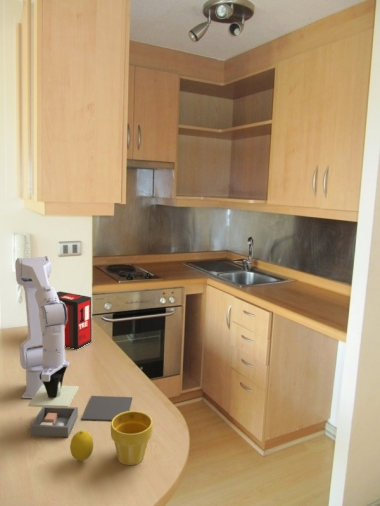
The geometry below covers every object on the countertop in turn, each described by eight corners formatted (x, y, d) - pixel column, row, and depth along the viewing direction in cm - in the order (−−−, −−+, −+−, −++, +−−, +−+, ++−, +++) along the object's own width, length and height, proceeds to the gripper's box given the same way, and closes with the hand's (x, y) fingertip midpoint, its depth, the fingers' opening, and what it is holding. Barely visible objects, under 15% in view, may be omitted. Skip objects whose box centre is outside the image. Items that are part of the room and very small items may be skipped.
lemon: (95, 453, 108) (95, 424, 106) (90, 468, 102) (90, 438, 101) (73, 453, 107) (73, 424, 106) (67, 467, 102) (67, 437, 101)
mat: (91, 396, 135) (91, 395, 135) (132, 398, 135) (132, 397, 135) (81, 419, 122) (81, 418, 122) (126, 421, 122) (126, 420, 122)
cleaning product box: (46, 342, 177) (45, 296, 173) (60, 335, 185) (59, 291, 181) (77, 350, 170) (77, 302, 167) (91, 342, 178) (91, 297, 175)
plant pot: (153, 469, 103) (154, 432, 101) (110, 472, 101) (110, 435, 99) (150, 442, 113) (151, 409, 111) (111, 445, 111) (111, 411, 109)
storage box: (43, 415, 123) (43, 406, 123) (77, 416, 123) (77, 407, 123) (30, 436, 114) (30, 426, 113) (68, 437, 114) (67, 427, 113)
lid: (42, 389, 122) (41, 373, 121) (78, 390, 122) (78, 375, 122) (28, 409, 112) (27, 392, 111) (68, 410, 112) (68, 393, 111)
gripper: (60, 359, 107) (61, 408, 110) (75, 337, 122) (75, 381, 124) (32, 358, 107) (34, 407, 110) (51, 336, 121) (51, 380, 124)
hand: (54, 393), depth 117 cm, fingers closed on lid, 3 cm apart
